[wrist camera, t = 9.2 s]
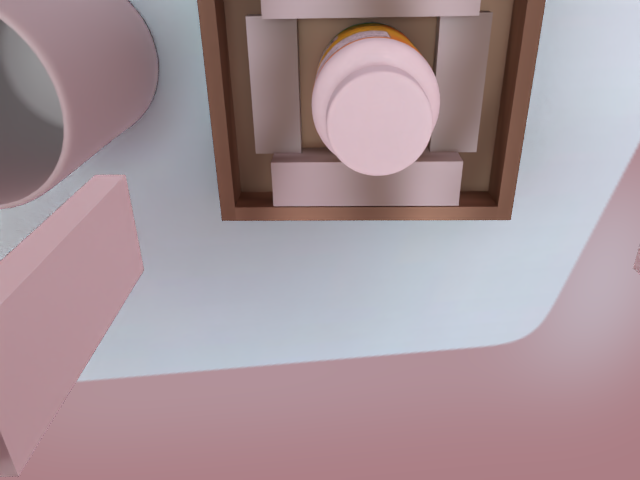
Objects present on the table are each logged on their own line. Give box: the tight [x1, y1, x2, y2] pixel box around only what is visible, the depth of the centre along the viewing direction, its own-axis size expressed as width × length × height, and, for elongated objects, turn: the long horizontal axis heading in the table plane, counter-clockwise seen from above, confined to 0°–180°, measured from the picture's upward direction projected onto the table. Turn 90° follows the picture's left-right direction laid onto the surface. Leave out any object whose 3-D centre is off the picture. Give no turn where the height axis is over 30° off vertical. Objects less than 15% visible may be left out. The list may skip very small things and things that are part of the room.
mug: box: [0, 0, 158, 209], centre depth 24 cm, size 12×8×11 cm
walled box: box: [197, 0, 546, 221], centre depth 28 cm, size 16×14×3 cm
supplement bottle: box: [312, 22, 440, 176], centre depth 24 cm, size 5×5×10 cm
